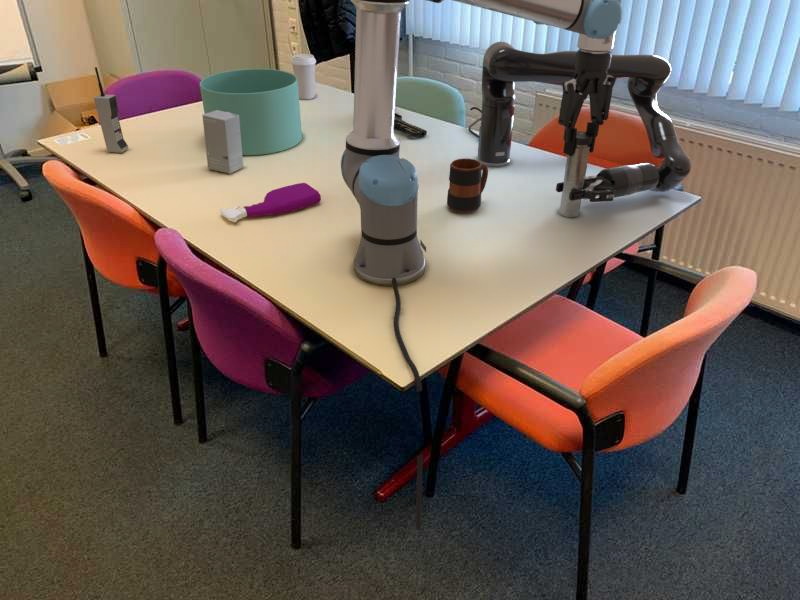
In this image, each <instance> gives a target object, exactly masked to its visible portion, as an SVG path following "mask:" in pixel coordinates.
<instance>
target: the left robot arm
mask: <svg viewBox="0 0 800 600" xmlns="http://www.w3.org/2000/svg"><path fill="white" fill-rule="evenodd" d="M426 1H427V2H431V3H435V4H441V3H442V2H444V1H445V0H426ZM452 1H454V2H458V3H461V4H466V5H469V6H473V7H477V8H481V9H484V10H488V11H493V12H496V13H500V14H503V15H504V14H505V15H508V16H512V17H516V18H519V19H524V20H527V21H532V22H533V23H534V24H536V25H545V26H550V27H555V28H558V29H562V30H565V31H569V32H572V33H577V34H578V38H577V44H576V47H577V49H578V50H576V51H577V52H576V59H575V68H576V73H575V75H574V77H573V79H572V80H570V81H568V82H567V81H564V82H563V83H562V85H561V86H562V96H561V102H560V107H559V108H560V109H559V115H558V120H557V124H558V125H559V126H561V127H564V131H563V137H562V138H563V139H562V140H563V141H564V146H563V152H562V153H563V154H565V155H569V156H573V153H574V146H575V140H576V133H577V131H578V128H576V125H577V121H578V119H579V116H580V113H581V111H582V108H583V105H584V103H585V100H587V99H588V98H589V114H590V121H587V123H586V129H585V132H588V133H590V134H592V135H593V139H592V143H591V144H589V145H590V151H589V153H594V150H595V144H596V139H597V137H598V135H599V130H600V126H602V125H604V123H605V121H608V119H609V114H610V108H611V101H612V95H613V90H614V86H615V83H616V81H617V79H616V77H613V76H610V75H607V72H606V70H608V69H609V67H610V61H611V55H613V53H612V52H611V50H612V49H613V48H614V43H615V38H616V37H615V35H616V32H617V30H618V29H619V27H620V25H621V22H622V19H623V8H622V0H452ZM350 2H351V3H352V4H353V5H354V7H355V9H356V12H355V13H356V16H355V17H356V18H355V48H354V51H355V54H354V58H355V59H354V90H353V94H354V95H353V121H352V122H353V123H352V124H353V128H352V131H351V132H349V133H348V134H347V135H346V137H345V149H344V151H343V153H342V155H341V158H340V172H341V176H342V179H343V181H344V183H345V185H346V186H347V188H348V189H349V191H350V192H351V194H352V195H353V197H354V198H355V200H356V202H357V204H358V205H359V210H360V211H359V212H360V239H359V242H358V247H357V249H356V252H355V256H354V259H353V270H354V273H355V275H356V276H357V277H358V278H359V279H360V280H362V281H364V282H366V283H369V284H370V285H371V284H372V285H376V286H382V287H392V289H393V294H394V297H395V311H394V316H393V330H394V335H395V339H396V342H397V343H398V346H399V348H400V351H401V353H402V356H403V358H404V360H405V362H406V363H407V365H408V366H409V368H410V370H411V373H412V376H413V378H414V383H415V389H416V391H417V392H422V391H423V384H422V380H421V376H420V373H419V370H418V368H417V366H416V364H415V363H414V362H413V360H412V358H411V356H410V354H409V351H408V349H407V347H406V345H405V343H404V342H405V341H404V340H403V338H402V334H401V330H400V325H399V318H400V313H401V305H402V304H401V303H402V302H401V301H402V300H401V295H400V292H399V286H402V285H406V284H410V283H413V282H415V281H417V280H418V279H420V278H421V276H423V274H424V273H425V270H426V258H425V255H424V252H425V253H427V246H426V245H425V243H424V242H423V240H422V239H419V238H418V198H419V197H418V196H419V194H418V193H419V192H418V191H419V187H420V186H419V185H420V184H419V179H418V172H417V169H416V167H415V165H414V164H413V163H412V162H411V161H409V160H408V159H406V158H404V157H402V158H401V157H400V148H401V140H400V138H399V137H398V136H397V134H395V128H394V117H395V106H396V102H397V101H396V100H397V99H396V98H397V83H398V65H399V52H400V51H399V50H400V35H401V16H402V11H403V10H404V8H405V7H407V6H408V5H409V4H410V0H350ZM575 86H576V87H575ZM588 96H589V97H588ZM423 251H424V252H423ZM423 455H424V454H419V455H417V456H416V457H417V458H416V462H417V463H416V495H415V496H416V497H415V498H416V500H415V504H416V505H415V529H416V530H417V531H420V530H421V529H422V495H423V494H422V493H423V467H424V465H423V464H424V462H423V461H424V459H423V458H424V456H423Z"/></svg>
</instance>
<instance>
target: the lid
mask: <svg viewBox="0 0 800 600" xmlns="http://www.w3.org/2000/svg"><path fill="white" fill-rule="evenodd" d="M592 139H593V135H592V134H590V133H588V132H586V131H580V130H577V133H576V140H575V145H589V144H591V143H592Z"/></svg>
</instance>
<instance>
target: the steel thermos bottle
mask: <svg viewBox="0 0 800 600" xmlns="http://www.w3.org/2000/svg"><path fill="white" fill-rule="evenodd" d="M589 151H590V145H575V146H574V153H573V156H569V155H567V154H566V155H567V156H566V163H565V168H564V169H565V170H564V176H563V182H564V183H563V189H562V192H561V197H560V203H559V210H558V213H559V215H560V216H563V217H565V218H576V217H579V215H580V210H581V204H582V199H578V200H573V201H571V200H569V193H570V192H571V191H576V190H581V189H583V187H584V181H585V176H586V174H587V168H588V163H589V157H590V152H589Z"/></svg>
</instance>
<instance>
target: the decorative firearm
mask: <svg viewBox="0 0 800 600" xmlns="http://www.w3.org/2000/svg"><path fill="white" fill-rule="evenodd" d="M397 110H398V107H397V105H395V117H394V130H397V131H399V132H401V133H404V134H406V135H408V136H411V137H415V138H416V137H419V138H424V137H426V136H427V132H428V130H426V129H423V128H421V127H420V126H416V125H413V124H411V123H409V122H406V121H405V120H403V115H401V114H399V113H397Z"/></svg>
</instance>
